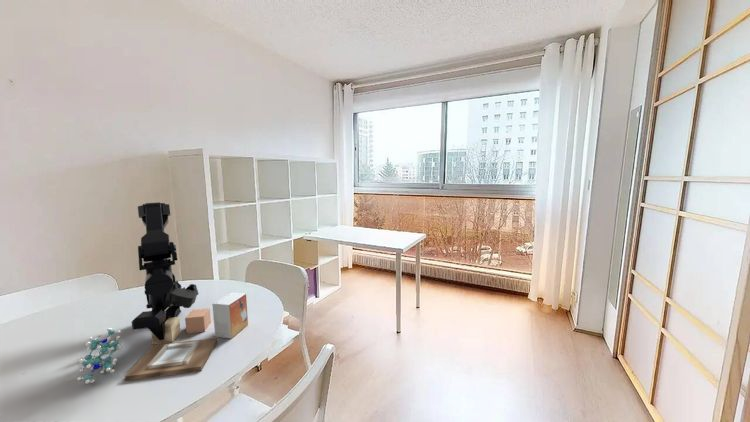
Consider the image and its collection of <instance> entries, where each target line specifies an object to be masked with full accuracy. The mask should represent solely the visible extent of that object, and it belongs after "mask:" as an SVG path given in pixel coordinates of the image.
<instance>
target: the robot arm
mask: <svg viewBox="0 0 750 422" xmlns="http://www.w3.org/2000/svg"><path fill="white" fill-rule="evenodd" d="M137 214H138V218H139V219H141V221H142V224H143V225H144V227H145V232H146V233H145V234H144V235H143V236H141V238H140V245H138V246H137V253H138V269H139V271H144V270H145V280H144V281H145V282H144V295H145V296H146V302H147V304H146V309H151V310H149V311H148V310H146V311H142V312H141V313H140V314H138V315H137V316H136V317H135V318H134V319H132V321H131V329H132V330H133V331H134V330H142V329H148V330H149V331H150V333H151V332H152V333H153V334H154V335H155V336H156V337H157V338H158V339H159V340H163V339H164V337H165V322H166V321H167V320H168V319H169V318H172V317H179V315H180V314H181V313H182V310H181V307H183V308H185V309H189V308H191V307H192V306H193V304H195V303H196V300H197V298H198V296H199V294H200V293H199V290H198V287H197V284H195V283H194V284H193V283H190V284H189V285H188V286H187V287H182V284H180V283H179V281H178V280H176V276H175V274H173V270H172V269H173V268H172V266H175V265H176V261H178V254H177V245H175V244H174V242H173V241H170V236H169V234H168V233H167V232H165V229H166V227H167V225H168V224H169V217H171V209H170V204H167V203H165V202H146V203H143V204H142V205H138V206H137ZM143 262H144V263H143Z"/></svg>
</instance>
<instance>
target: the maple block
mask: <svg viewBox="0 0 750 422" xmlns="http://www.w3.org/2000/svg"><path fill="white" fill-rule="evenodd" d="M181 331H182V329H181V322H180V317H179V316H177V317H172V318H169V319H168V320H167V321H166V322H165V337H164V339H163V340H159V339H158V338H157V337H156V336H155V335H154V334H153V333H152V332H151V331H150V333H151V334H150V335H151V342H152V345H159V344H168V343H174V341H175V340H176V339H177V337H178V336H179V335H180V334H181Z"/></svg>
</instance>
